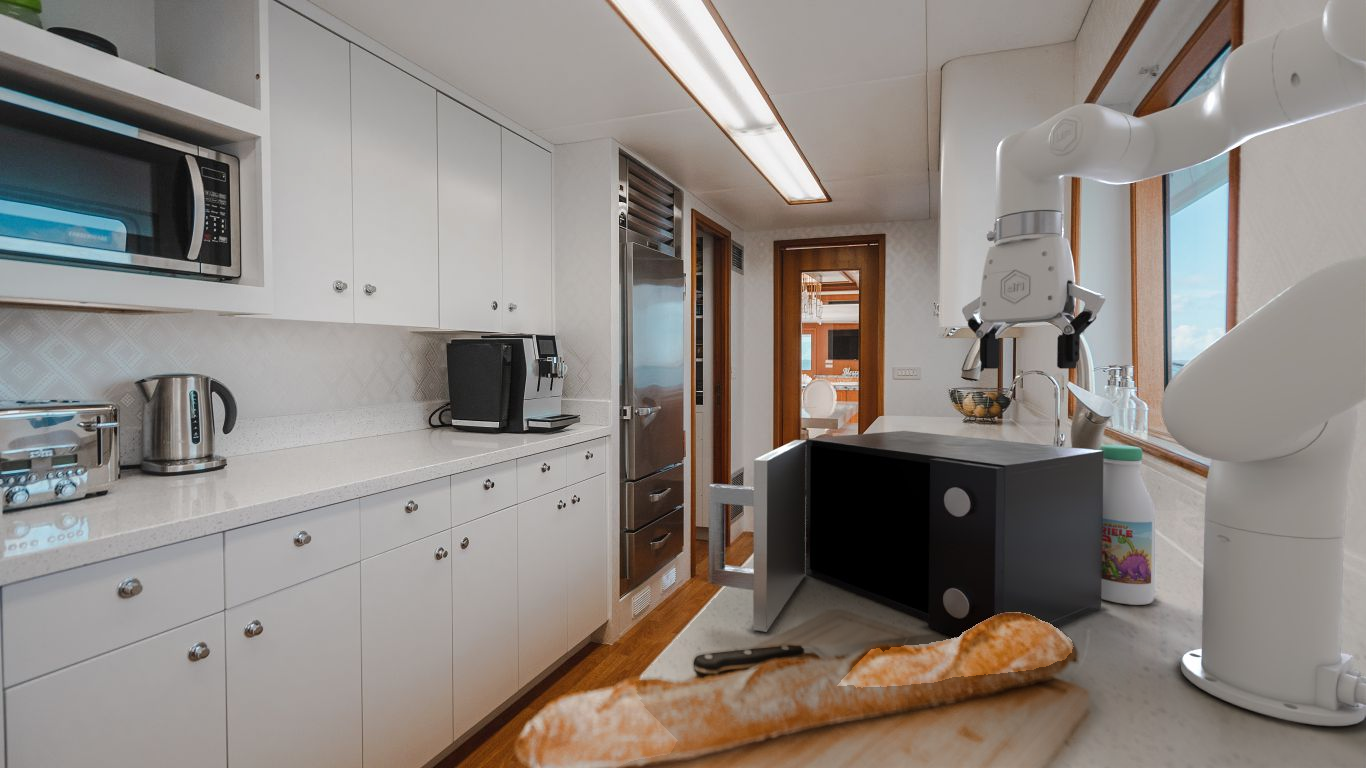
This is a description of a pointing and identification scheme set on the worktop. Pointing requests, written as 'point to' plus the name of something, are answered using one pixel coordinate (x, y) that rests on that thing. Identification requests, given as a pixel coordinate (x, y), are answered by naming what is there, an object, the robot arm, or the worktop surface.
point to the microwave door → (765, 531)
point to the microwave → (957, 525)
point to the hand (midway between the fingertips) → (1026, 368)
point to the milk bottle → (1127, 529)
